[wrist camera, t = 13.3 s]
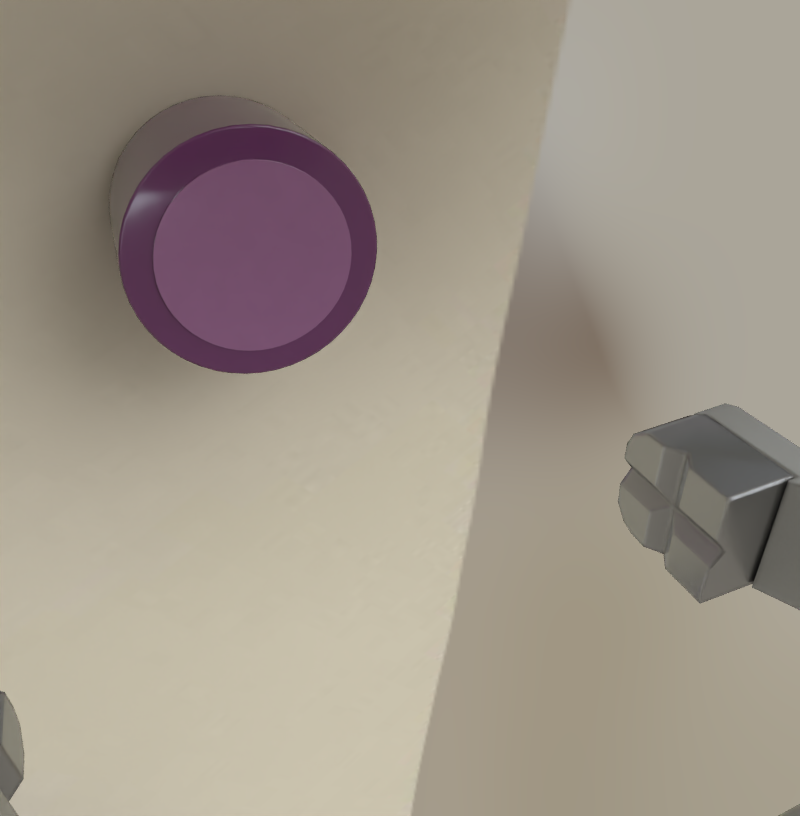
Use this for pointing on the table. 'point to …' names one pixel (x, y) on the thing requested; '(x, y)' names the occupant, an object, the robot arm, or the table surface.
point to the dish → (239, 235)
